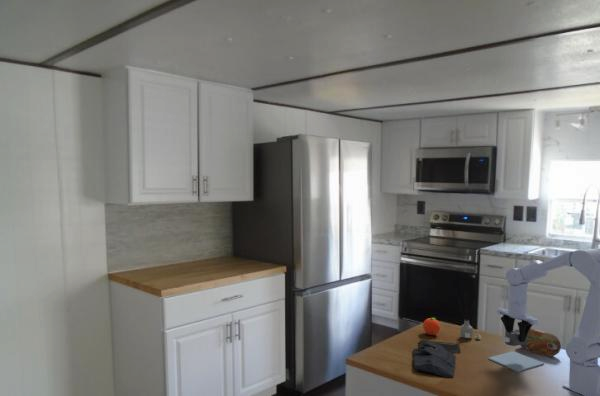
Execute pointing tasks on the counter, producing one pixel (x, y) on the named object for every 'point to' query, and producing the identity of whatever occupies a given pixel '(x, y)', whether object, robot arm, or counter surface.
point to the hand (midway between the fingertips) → (516, 339)
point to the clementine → (431, 326)
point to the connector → (512, 338)
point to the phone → (447, 346)
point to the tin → (542, 343)
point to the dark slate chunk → (434, 360)
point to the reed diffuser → (467, 323)
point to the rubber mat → (516, 361)
